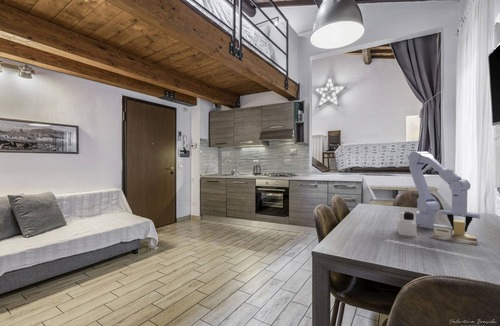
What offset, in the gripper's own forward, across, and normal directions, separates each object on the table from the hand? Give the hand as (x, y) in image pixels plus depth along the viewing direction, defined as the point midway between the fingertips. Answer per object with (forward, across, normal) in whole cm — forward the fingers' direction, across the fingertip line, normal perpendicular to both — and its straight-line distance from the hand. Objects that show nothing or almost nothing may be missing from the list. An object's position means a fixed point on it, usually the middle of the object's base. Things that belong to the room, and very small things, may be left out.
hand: (459, 230), depth 116 cm
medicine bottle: (+3, -20, -15) cm, 25 cm away
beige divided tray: (+3, -2, -5) cm, 6 cm away
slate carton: (+2, -6, -10) cm, 12 cm away
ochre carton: (+1, 0, 0) cm, 1 cm away
